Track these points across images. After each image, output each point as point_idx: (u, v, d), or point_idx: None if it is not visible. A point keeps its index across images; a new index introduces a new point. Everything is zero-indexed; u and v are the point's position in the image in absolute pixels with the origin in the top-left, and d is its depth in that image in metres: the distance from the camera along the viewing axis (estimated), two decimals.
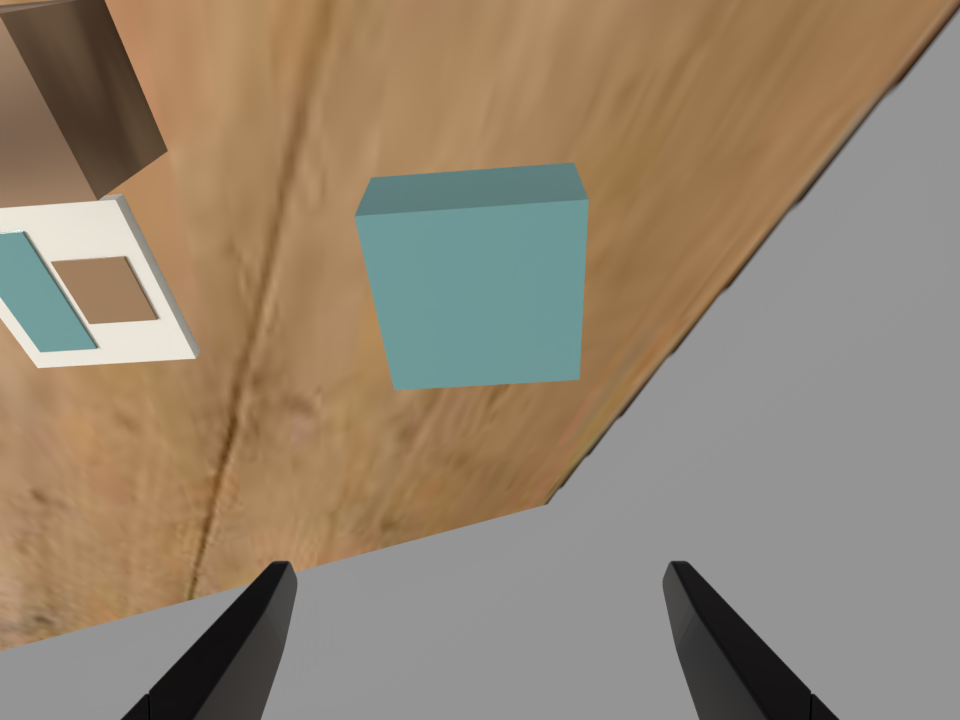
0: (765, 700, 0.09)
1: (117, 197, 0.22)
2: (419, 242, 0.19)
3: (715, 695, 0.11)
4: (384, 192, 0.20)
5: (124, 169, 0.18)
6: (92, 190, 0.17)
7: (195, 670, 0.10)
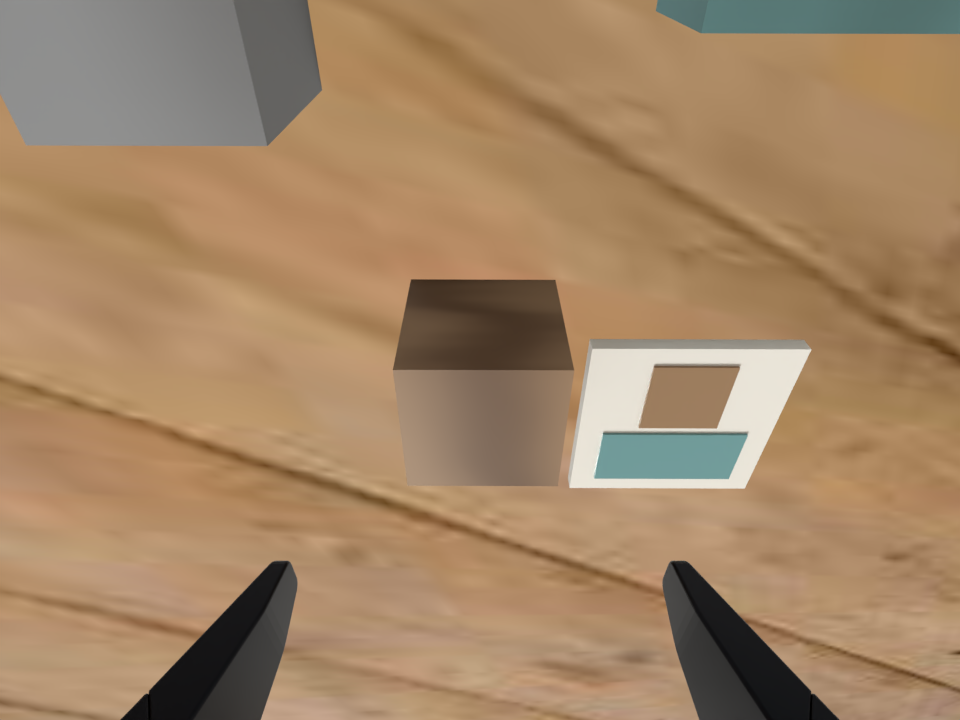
0: (765, 700, 0.09)
1: (591, 345, 0.20)
2: None
3: (715, 695, 0.11)
4: None
5: (555, 329, 0.17)
6: (562, 369, 0.15)
7: (195, 670, 0.10)
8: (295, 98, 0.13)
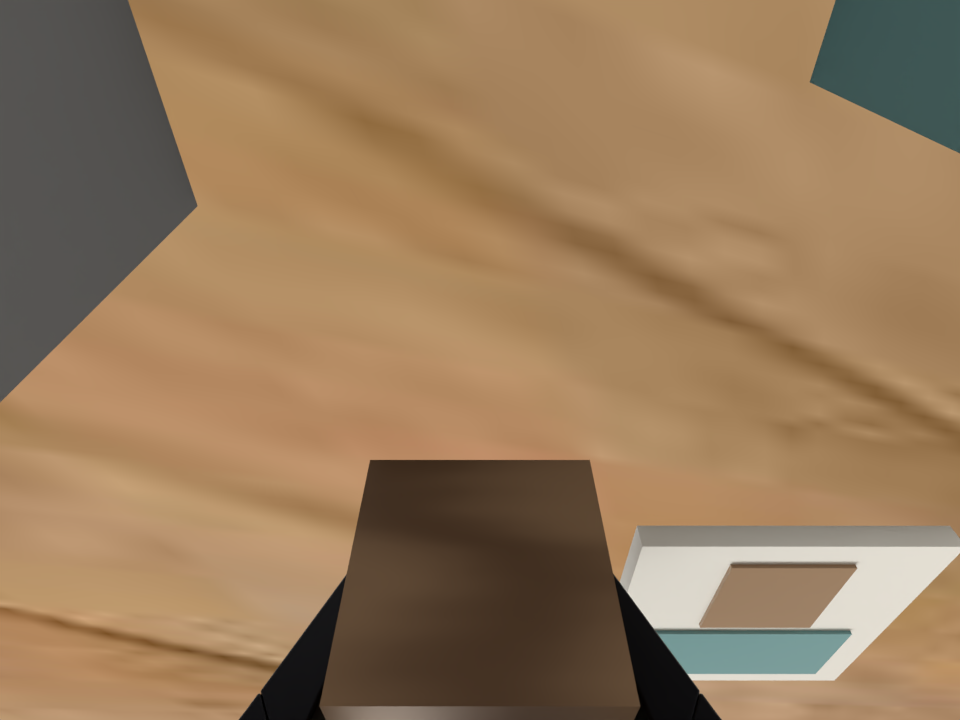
0: (651, 700, 0.09)
1: (640, 539, 0.14)
2: None
3: None
4: (913, 36, 0.06)
5: (599, 587, 0.10)
6: (619, 705, 0.09)
7: (303, 670, 0.10)
8: (103, 261, 0.06)
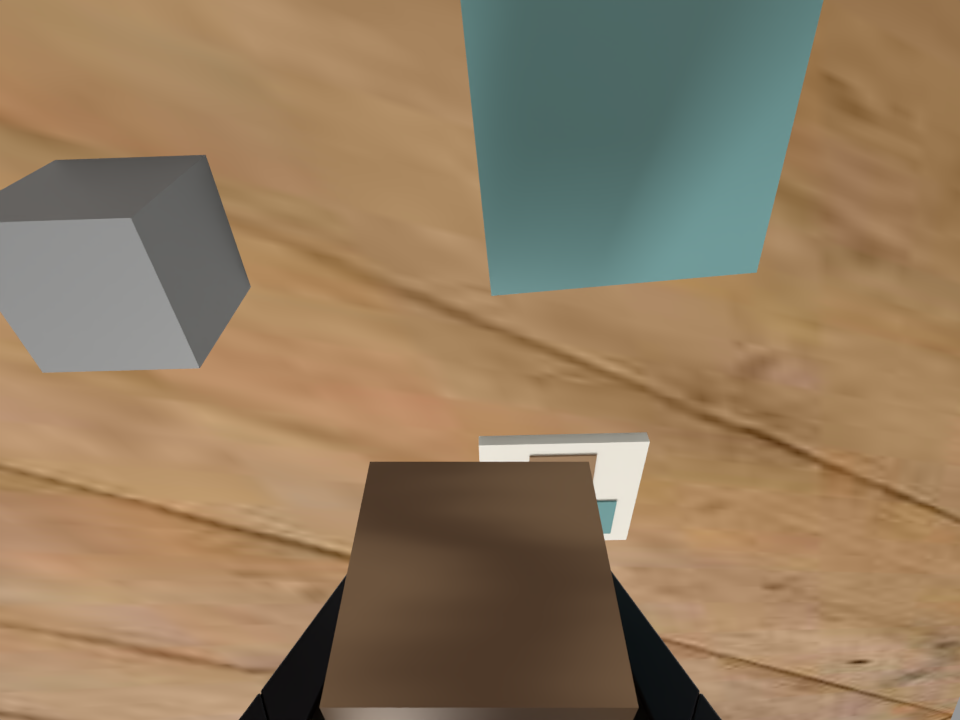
0: (651, 700, 0.09)
1: None
2: (524, 229, 0.15)
3: None
4: None
5: (597, 589, 0.10)
6: (618, 706, 0.09)
7: (303, 670, 0.10)
8: (224, 315, 0.19)
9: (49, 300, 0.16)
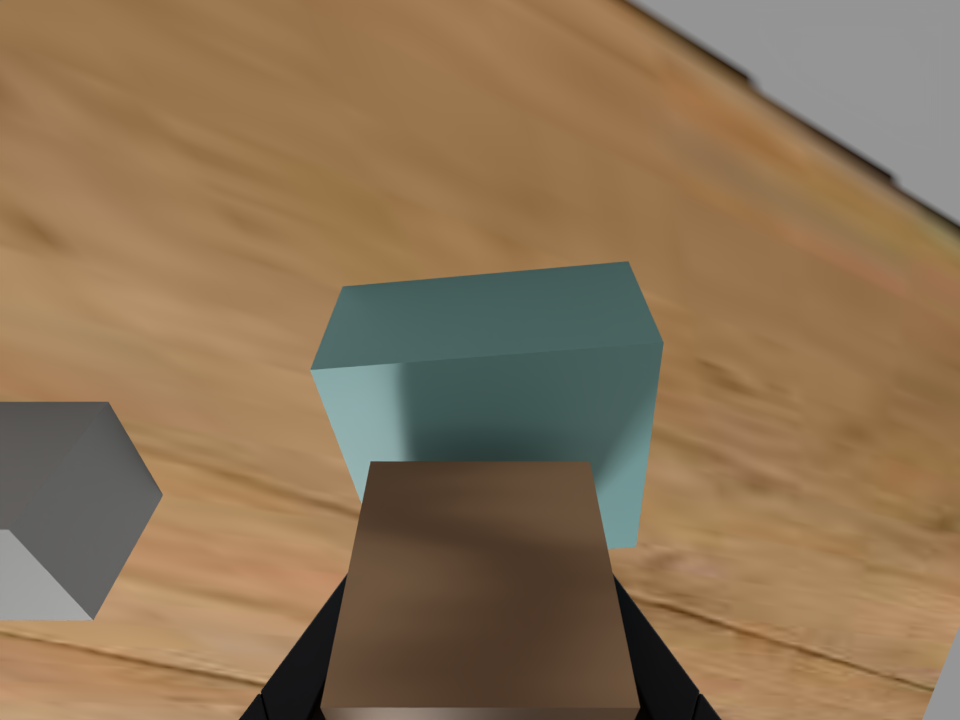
0: (651, 700, 0.09)
1: None
2: None
3: None
4: None
5: (598, 588, 0.10)
6: (619, 706, 0.09)
7: (303, 670, 0.10)
8: (127, 546, 0.19)
9: None
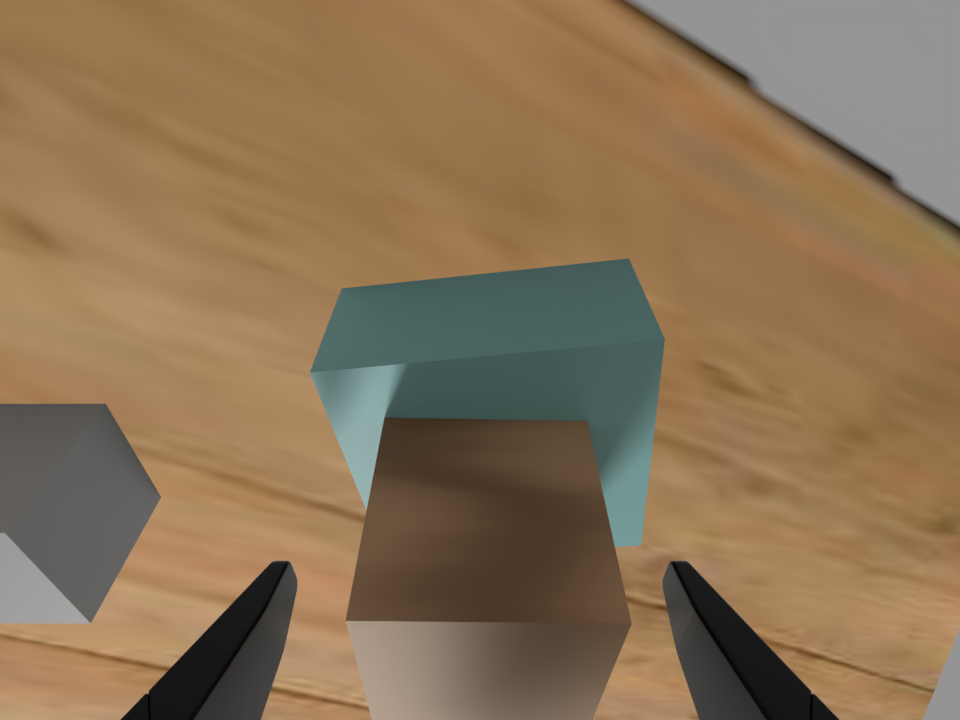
0: (765, 700, 0.09)
1: None
2: None
3: (715, 695, 0.11)
4: None
5: (595, 527, 0.11)
6: (613, 622, 0.10)
7: (195, 670, 0.10)
8: (124, 549, 0.19)
9: None
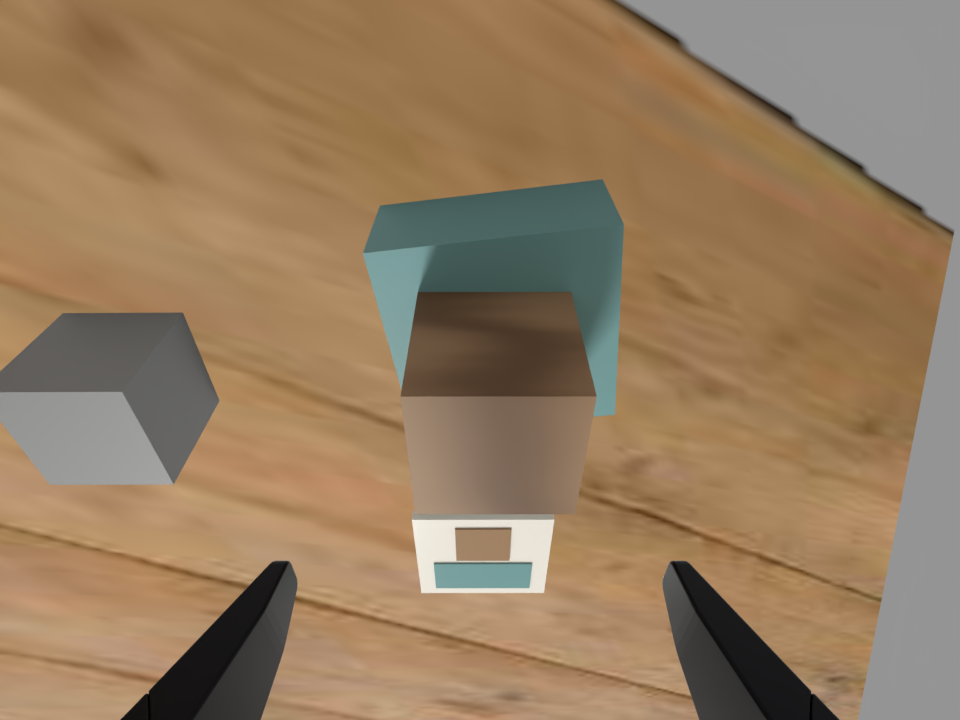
0: (765, 700, 0.09)
1: (412, 517, 0.31)
2: None
3: (715, 695, 0.11)
4: None
5: (574, 349, 0.15)
6: (584, 396, 0.14)
7: (195, 670, 0.10)
8: (195, 434, 0.24)
9: (58, 440, 0.20)
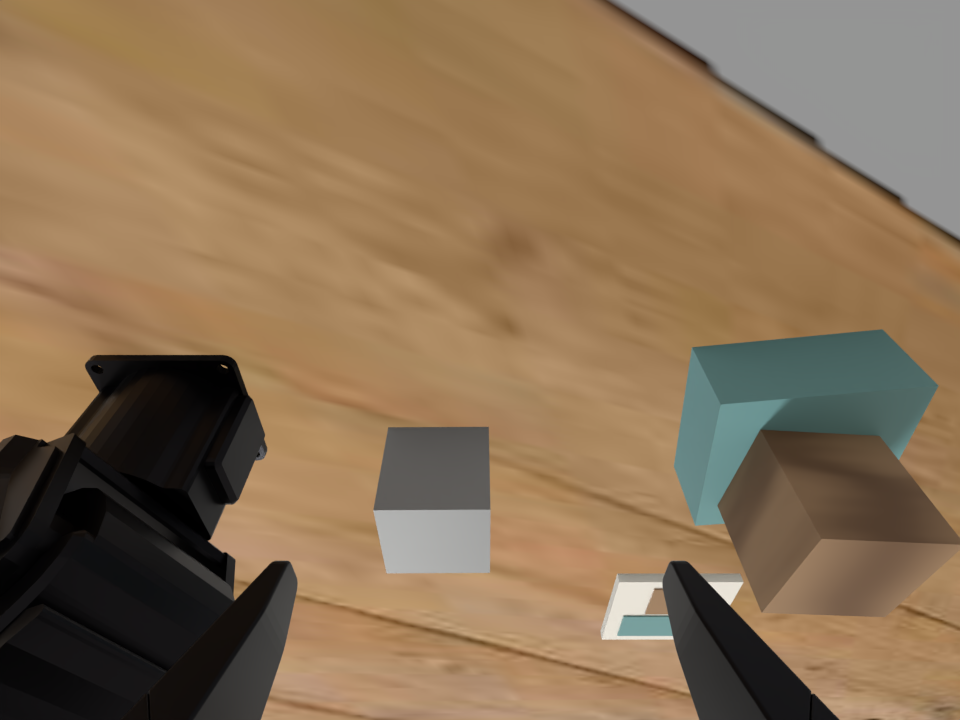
0: (765, 700, 0.09)
1: (618, 579, 0.35)
2: None
3: (715, 695, 0.11)
4: (684, 481, 0.27)
5: (919, 497, 0.20)
6: (955, 543, 0.18)
7: (195, 670, 0.10)
8: None
9: (415, 542, 0.25)
